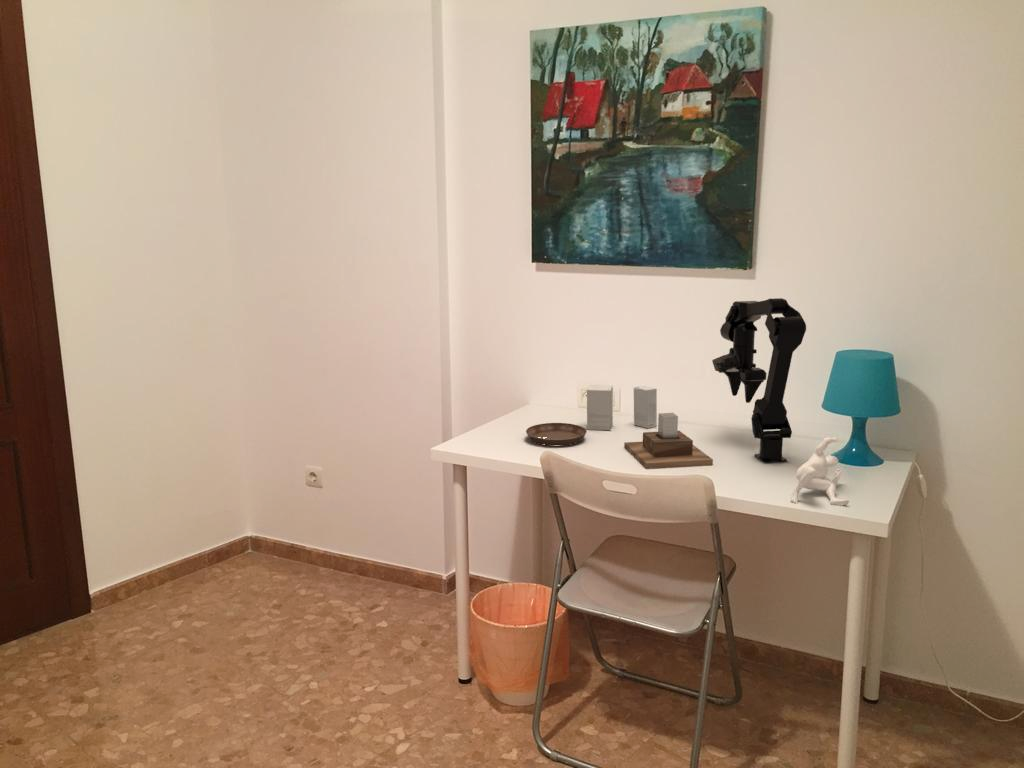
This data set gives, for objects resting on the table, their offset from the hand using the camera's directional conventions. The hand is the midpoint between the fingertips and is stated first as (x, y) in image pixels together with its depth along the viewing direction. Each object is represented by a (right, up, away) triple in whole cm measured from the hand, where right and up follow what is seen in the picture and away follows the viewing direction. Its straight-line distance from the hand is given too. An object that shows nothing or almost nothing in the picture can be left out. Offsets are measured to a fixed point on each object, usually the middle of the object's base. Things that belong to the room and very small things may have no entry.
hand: (741, 399), depth 240 cm
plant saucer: (-53, -12, +4) cm, 54 cm away
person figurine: (+6, -22, -43) cm, 49 cm away
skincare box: (-25, -9, +19) cm, 32 cm away
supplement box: (-39, -9, +17) cm, 43 cm away
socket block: (-24, -15, -13) cm, 31 cm away
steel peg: (-24, -14, -13) cm, 30 cm away
